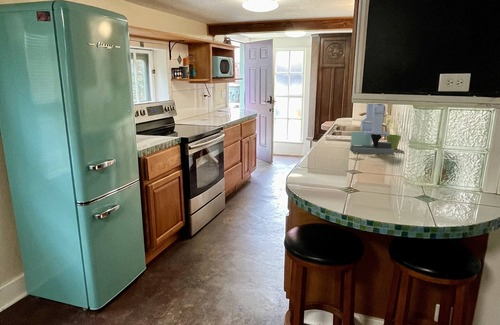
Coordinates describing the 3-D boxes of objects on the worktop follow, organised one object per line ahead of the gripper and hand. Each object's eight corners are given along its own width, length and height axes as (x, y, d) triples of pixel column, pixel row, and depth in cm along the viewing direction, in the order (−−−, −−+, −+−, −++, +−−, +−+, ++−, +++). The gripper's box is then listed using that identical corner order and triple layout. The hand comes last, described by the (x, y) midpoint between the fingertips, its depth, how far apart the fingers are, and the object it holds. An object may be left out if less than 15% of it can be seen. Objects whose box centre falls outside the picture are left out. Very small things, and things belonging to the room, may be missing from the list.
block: (375, 151, 215) (376, 141, 213) (388, 151, 215) (389, 142, 213) (377, 152, 211) (378, 143, 210) (390, 152, 211) (391, 143, 209)
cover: (351, 144, 216) (351, 144, 217) (370, 145, 216) (369, 145, 217) (351, 131, 216) (351, 131, 217) (370, 132, 216) (370, 132, 216)
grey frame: (349, 149, 219) (349, 139, 218) (387, 149, 219) (388, 140, 218) (353, 153, 209) (354, 143, 207) (393, 153, 209) (394, 143, 207)
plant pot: (397, 147, 227) (398, 134, 225) (401, 150, 218) (403, 137, 216) (382, 146, 228) (384, 134, 226) (386, 149, 219) (388, 136, 217)
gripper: (367, 125, 205) (365, 147, 208) (391, 126, 205) (388, 148, 208) (363, 123, 212) (361, 145, 215) (387, 124, 212) (384, 145, 215)
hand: (374, 146), depth 212 cm, fingers closed
